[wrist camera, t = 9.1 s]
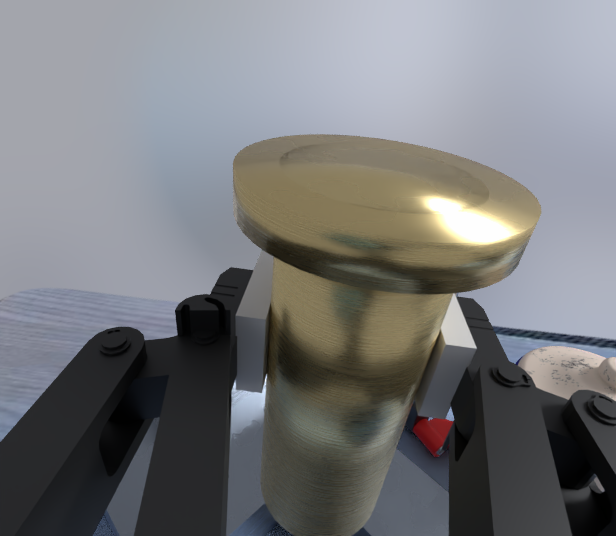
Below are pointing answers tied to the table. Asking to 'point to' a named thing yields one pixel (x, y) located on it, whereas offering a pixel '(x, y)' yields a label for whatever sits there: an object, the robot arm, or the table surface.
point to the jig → (248, 496)
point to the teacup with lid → (570, 373)
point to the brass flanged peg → (361, 301)
